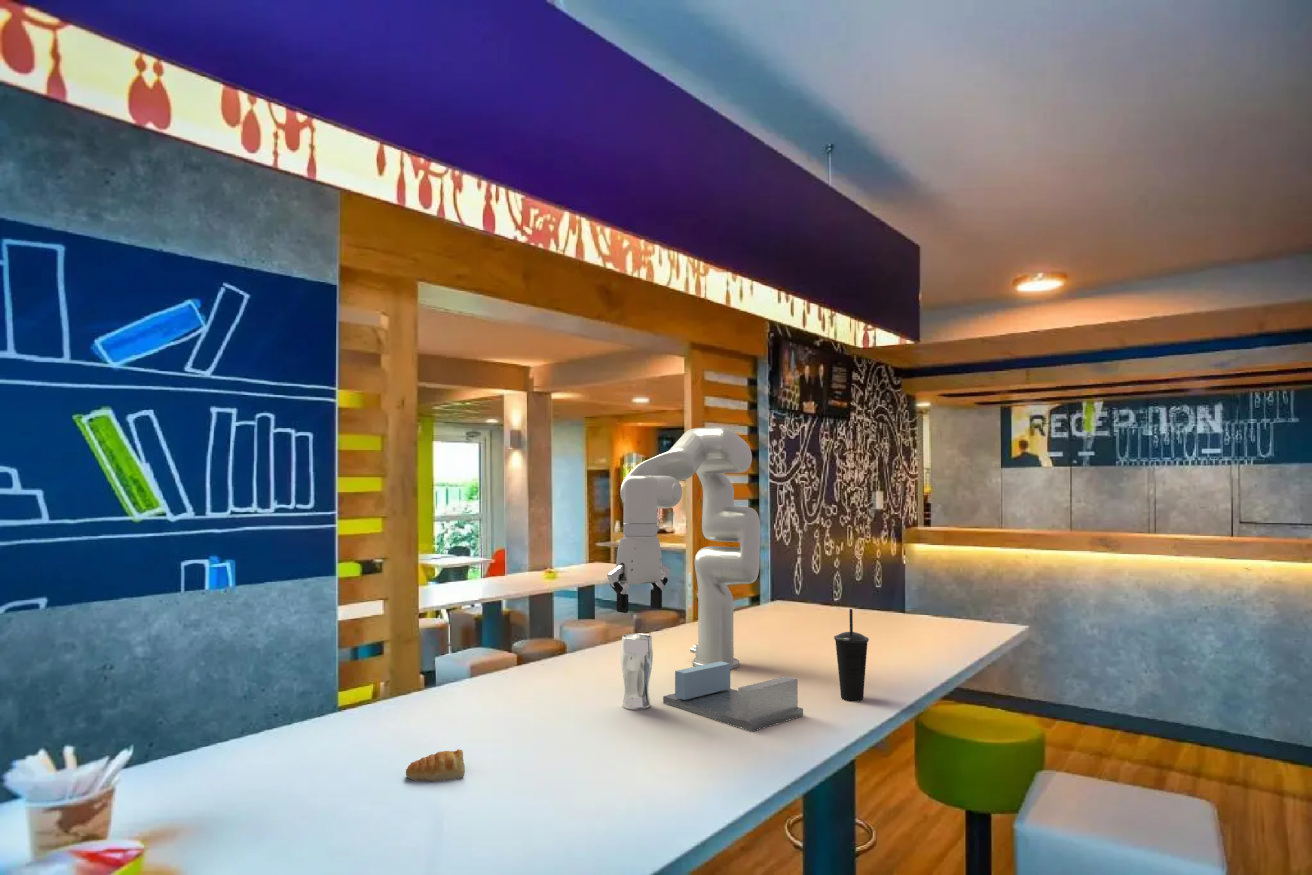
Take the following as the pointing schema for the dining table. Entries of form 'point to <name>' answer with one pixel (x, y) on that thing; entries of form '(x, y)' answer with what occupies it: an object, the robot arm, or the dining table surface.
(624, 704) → the beer glass
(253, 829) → the dining table surface
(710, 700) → the vise base
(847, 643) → the drinking cup
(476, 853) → the dining table surface
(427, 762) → the pastry
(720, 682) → the bar
